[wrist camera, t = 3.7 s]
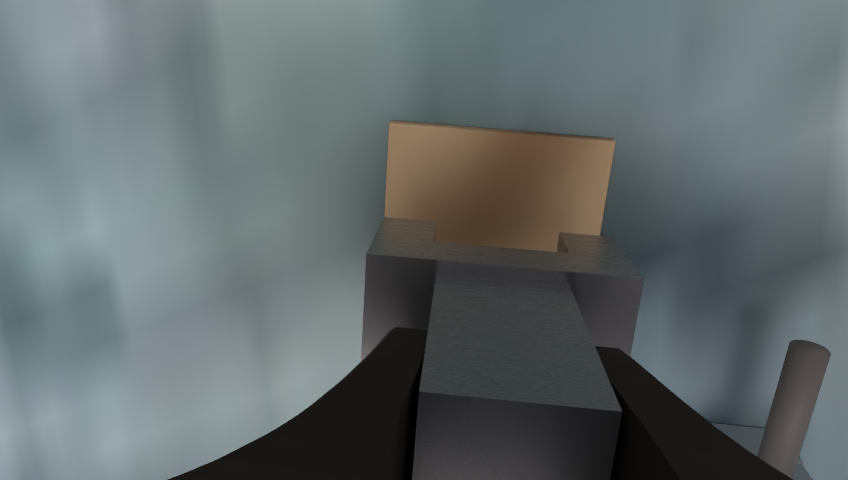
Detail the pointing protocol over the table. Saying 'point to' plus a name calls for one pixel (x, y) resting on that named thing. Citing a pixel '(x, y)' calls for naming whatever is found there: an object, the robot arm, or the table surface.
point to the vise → (787, 411)
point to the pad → (497, 183)
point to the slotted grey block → (506, 349)
